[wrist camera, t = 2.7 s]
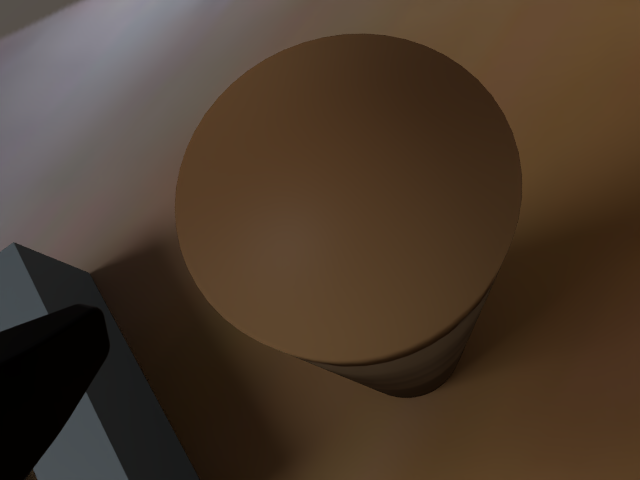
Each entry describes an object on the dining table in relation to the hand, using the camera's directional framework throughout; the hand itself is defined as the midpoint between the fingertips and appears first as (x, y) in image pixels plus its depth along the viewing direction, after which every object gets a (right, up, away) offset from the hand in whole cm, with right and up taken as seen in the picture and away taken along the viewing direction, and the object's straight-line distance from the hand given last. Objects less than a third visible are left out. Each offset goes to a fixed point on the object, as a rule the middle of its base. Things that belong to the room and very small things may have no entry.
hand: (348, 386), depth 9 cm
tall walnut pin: (+2, -1, +9) cm, 10 cm away
